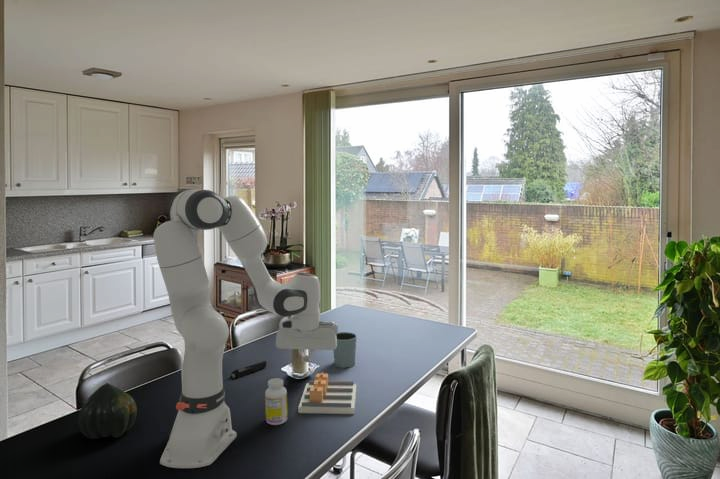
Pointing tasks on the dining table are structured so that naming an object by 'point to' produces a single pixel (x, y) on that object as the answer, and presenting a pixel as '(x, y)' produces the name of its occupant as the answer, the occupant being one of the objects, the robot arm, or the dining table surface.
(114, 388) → the squash
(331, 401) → the switch bank
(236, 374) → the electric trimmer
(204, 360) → the robot arm
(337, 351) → the green cup
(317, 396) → the tab
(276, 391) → the supplement bottle
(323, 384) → the tab
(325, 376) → the tab
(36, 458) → the dining table surface
